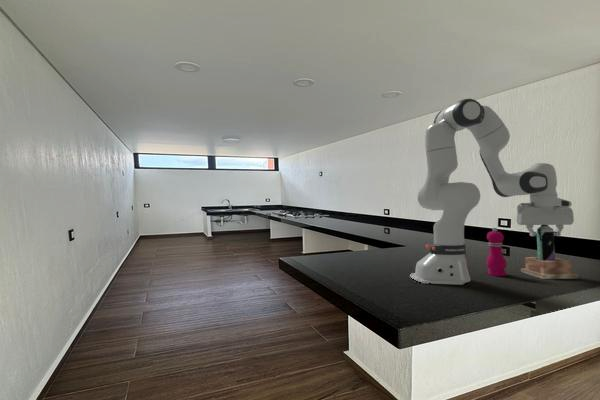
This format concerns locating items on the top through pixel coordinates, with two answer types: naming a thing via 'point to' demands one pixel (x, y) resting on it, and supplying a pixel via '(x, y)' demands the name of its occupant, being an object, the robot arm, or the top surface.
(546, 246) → the spray can
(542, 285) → the top surface
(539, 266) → the can holder
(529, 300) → the top surface
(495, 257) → the pepper mill
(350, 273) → the top surface
